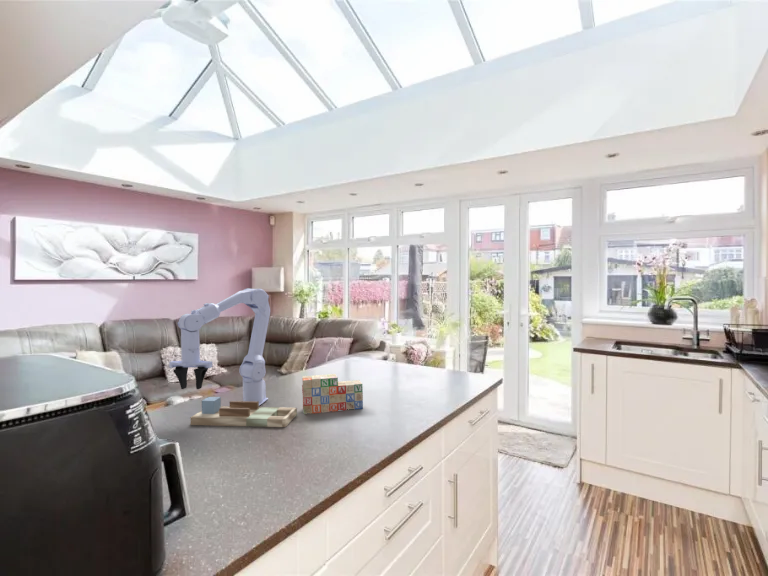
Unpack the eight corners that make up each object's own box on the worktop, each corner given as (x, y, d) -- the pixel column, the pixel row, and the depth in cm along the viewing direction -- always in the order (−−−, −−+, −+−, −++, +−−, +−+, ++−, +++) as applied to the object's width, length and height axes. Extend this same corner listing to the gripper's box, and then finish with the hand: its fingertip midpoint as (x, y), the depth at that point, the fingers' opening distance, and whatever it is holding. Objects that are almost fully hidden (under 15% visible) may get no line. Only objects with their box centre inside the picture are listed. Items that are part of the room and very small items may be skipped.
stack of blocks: (360, 404, 156) (359, 371, 155) (363, 409, 149) (362, 375, 149) (302, 409, 151) (302, 375, 150) (303, 414, 144) (302, 379, 144)
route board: (209, 413, 147) (209, 399, 147) (296, 414, 144) (296, 400, 144) (190, 424, 135) (190, 409, 135) (285, 427, 132) (285, 411, 132)
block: (208, 409, 143) (208, 396, 143) (220, 409, 142) (220, 397, 142) (201, 413, 138) (201, 400, 138) (214, 413, 138) (214, 400, 138)
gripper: (163, 350, 137) (164, 391, 138) (204, 351, 136) (205, 391, 136) (175, 347, 144) (176, 385, 145) (215, 347, 143) (216, 386, 143)
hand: (191, 388), depth 141 cm, fingers open, 5 cm apart
